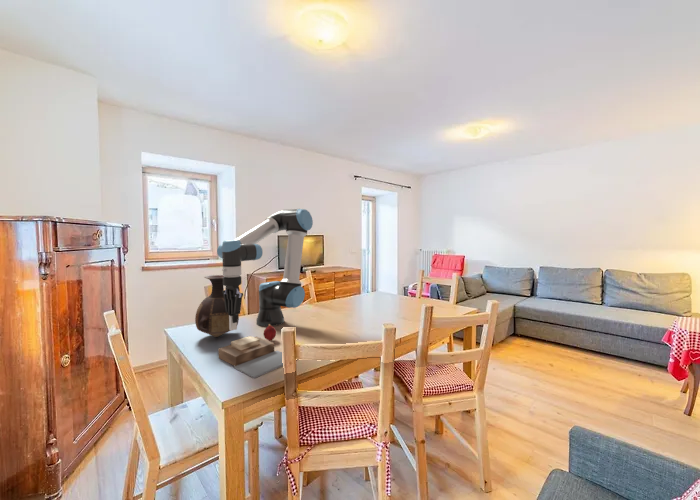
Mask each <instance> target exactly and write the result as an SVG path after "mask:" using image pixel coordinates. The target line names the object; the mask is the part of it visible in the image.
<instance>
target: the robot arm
mask: <svg viewBox="0 0 700 500" xmlns="http://www.w3.org/2000/svg"><path fill="white" fill-rule="evenodd" d="M313 221H314V220H313V217H312V215H311V212H310V211H309V210H307V209H305V208H296V209H295V208H294V209H292V208H291V209H282V210H278V211H277V212H275V213H273V214H271V215H269V216H268V217H266V218H265V219H264V221H263V222H262V223H260V224H258V225H256V226H255V227H253V228H252V229H250V230H248V231H247V232H245V233H243V234H242V235H240V236H239V237H236V238H235V239H232V240H229V239H228V240H227V239H226V240H223V242H222V243H220V244H219V245H218V247H217V248H216V249H217V250H216V253H217V255H218V257H219V258H220V259H221V260H222V261H221V262H222V270H221V271H222V275H224V277H223V287H224V286H225V289H224V291H222V293H223V296H224V302H225V309H226V313H228V315H229V330H231V331H232V332H233V331H236V330H238V325H237V315H238V314H239V315H240V314H241V308H242V300H243V297H244V293H243V292H241V291H240V285H242V276H241V275H242V262H247V261H256V260H260V259H261V258H262V256H263V247H262V246H261V245H260V244H258V243H260V242H261V241H263V240H264V239H266V238H267V237H269V236H270V235H271V234H276V233H278V232H280V231H285V233H286V234H287V236H288V237H287V242H286V243H287V244H286V245H287V246H286V253H285V261H284V268H283V277H282V279H281V280H280V281H278V280H274V281H267V282H261V283H260V284H259V286H258V302H259V303H258V304H259V307H258V308H259V310H258V312H257V313H258V314H257V317H256V325H258V326H260V327H268V326H269V324H270V325H271V326H272V327H274V326H279V325H282V324H284V322H285V317H284V314H283V311H282V308H281V307H283V308H289V309H292V308H293V309H296V308H298V307H300V306H301V304H302V303H303V302H304V299H305V296H306V292H305V289H304V288H303V286H302V282H301V281H300V275H301V266H302V257H303V256H302V255H303V249H304V240H305V237H306V236H307V235H308V231H309V230H311V229H312V227H313V223H314V222H313ZM231 331H230V332H231Z"/></svg>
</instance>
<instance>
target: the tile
mask: <svg viewBox="0 0 700 500" xmlns="http://www.w3.org/2000/svg"><path fill="white" fill-rule="evenodd" d="M255 337H256V336H252V335H249V336H246V337H242V338H238V339H236V340H232V341H230V345H231V347H234V348H236V349H238V350H243V349H246V348H249V347H252V346H255V345H258V344H260V339H257V338H255Z"/></svg>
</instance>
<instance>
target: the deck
mask: <svg viewBox="0 0 700 500" xmlns="http://www.w3.org/2000/svg"><path fill="white" fill-rule="evenodd" d="M254 337H255V338H257V339H260V344H258V345H255V346H252V347H249V348H246V349H243V350H238V349H236V348H234V347H231V344H229V345H226V346H221V347H219V348H218V350H217V351H218V359H219V360H221V361H223V362H225V363H228V364H230V365H232V366H233V367H234V366H237V365H240V364H242V363H245V362H248V361H250V360H253V359H256V358H258V357H261V356H264V355H266V354H269V353H272V352H274V351H275V342H273V341H268V340H267V339H265V338H261V337H259V336H254Z"/></svg>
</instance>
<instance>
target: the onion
mask: <svg viewBox="0 0 700 500" xmlns="http://www.w3.org/2000/svg"><path fill="white" fill-rule="evenodd" d="M276 336H277V330H276V328H275V327H274V326H271V325H270V324H269V326H266V327H265V329H264V330H263V337H264V339H265V340H267V341H270V342H272V341H273V340H274V339H275V338H276Z"/></svg>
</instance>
